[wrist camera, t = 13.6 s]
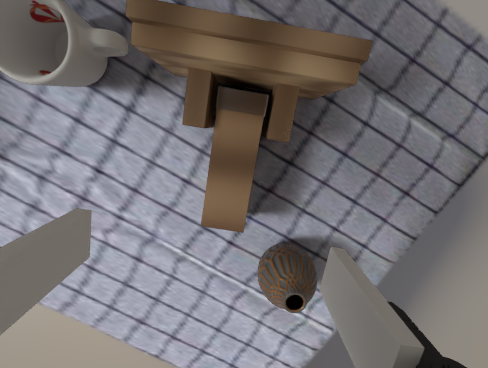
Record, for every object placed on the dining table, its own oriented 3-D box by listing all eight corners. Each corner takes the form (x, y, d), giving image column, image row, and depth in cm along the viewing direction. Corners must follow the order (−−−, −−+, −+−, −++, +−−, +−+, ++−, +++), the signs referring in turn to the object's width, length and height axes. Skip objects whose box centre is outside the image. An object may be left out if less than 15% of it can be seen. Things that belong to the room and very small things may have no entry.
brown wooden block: (244, 213, 34) (244, 232, 28) (207, 208, 33) (199, 225, 28) (263, 100, 31) (268, 95, 25) (223, 93, 30) (218, 86, 24)
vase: (308, 280, 36) (329, 329, 27) (258, 284, 36) (262, 334, 27) (307, 233, 34) (329, 269, 26) (254, 237, 34) (258, 275, 26)
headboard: (170, 120, 31) (119, 117, 18) (177, 50, 29) (127, -6, 17) (303, 142, 32) (343, 155, 19) (317, 75, 30) (372, 40, 17)
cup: (139, 15, 29) (100, -25, 21) (146, 93, 30) (113, 82, 22) (39, 17, 29) (-37, -23, 21) (53, 94, 30) (-13, 84, 23)
